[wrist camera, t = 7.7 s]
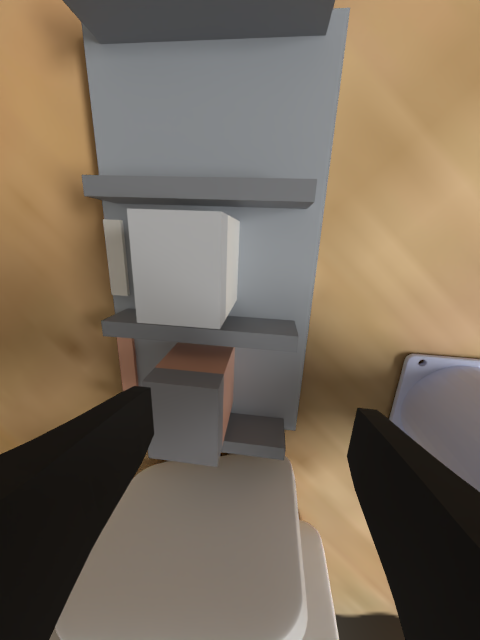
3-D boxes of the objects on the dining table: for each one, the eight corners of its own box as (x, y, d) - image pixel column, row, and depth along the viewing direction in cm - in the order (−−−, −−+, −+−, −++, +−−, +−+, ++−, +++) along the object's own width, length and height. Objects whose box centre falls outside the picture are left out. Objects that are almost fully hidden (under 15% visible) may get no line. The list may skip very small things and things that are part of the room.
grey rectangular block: (239, 221, 16) (221, 211, 10) (236, 299, 17) (219, 329, 12) (177, 219, 16) (126, 208, 11) (180, 296, 18) (136, 322, 12)
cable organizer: (299, 438, 22) (327, 647, 10) (320, 528, 24) (361, 768, 13) (141, 458, 24) (33, 639, 13) (177, 536, 27) (112, 740, 16)
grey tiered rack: (344, 24, 13) (373, -62, 9) (294, 422, 21) (299, 462, 17) (93, 35, 15) (31, -36, 11) (132, 403, 22) (103, 437, 19)
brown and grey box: (235, 342, 18) (218, 389, 13) (233, 402, 20) (217, 467, 14) (181, 338, 19) (141, 381, 13) (183, 396, 20) (148, 457, 15)
